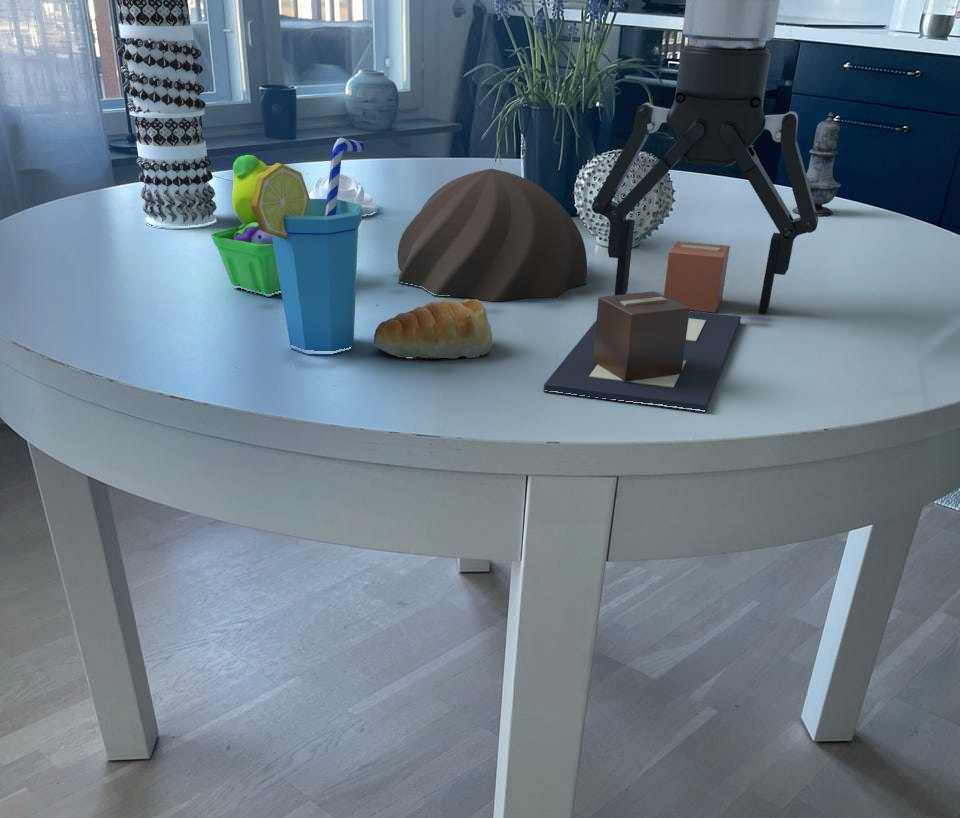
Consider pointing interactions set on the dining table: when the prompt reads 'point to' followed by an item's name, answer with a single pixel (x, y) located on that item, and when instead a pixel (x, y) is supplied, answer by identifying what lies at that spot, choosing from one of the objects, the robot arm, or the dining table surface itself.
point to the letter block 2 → (696, 275)
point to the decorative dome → (492, 241)
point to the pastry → (437, 331)
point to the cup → (312, 253)
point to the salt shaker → (823, 166)
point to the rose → (345, 193)
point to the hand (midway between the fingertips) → (691, 301)
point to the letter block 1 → (640, 335)
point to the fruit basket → (248, 235)
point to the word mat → (686, 390)
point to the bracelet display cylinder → (166, 111)
